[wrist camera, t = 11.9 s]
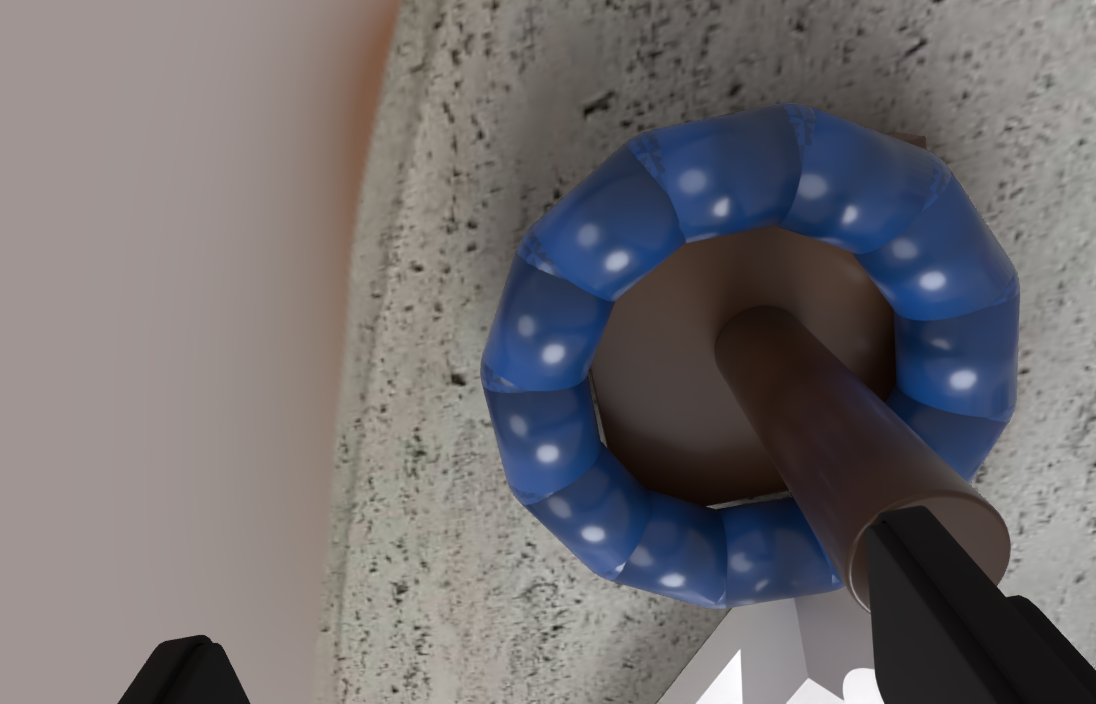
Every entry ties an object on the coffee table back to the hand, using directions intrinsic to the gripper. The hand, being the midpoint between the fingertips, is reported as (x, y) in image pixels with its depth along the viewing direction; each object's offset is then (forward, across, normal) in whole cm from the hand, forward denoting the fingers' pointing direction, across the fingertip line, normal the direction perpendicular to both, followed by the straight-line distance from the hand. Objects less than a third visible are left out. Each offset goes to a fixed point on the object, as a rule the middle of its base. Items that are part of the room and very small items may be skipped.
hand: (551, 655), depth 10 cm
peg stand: (+11, -6, 0) cm, 13 cm away
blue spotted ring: (+8, -5, 0) cm, 10 cm away
